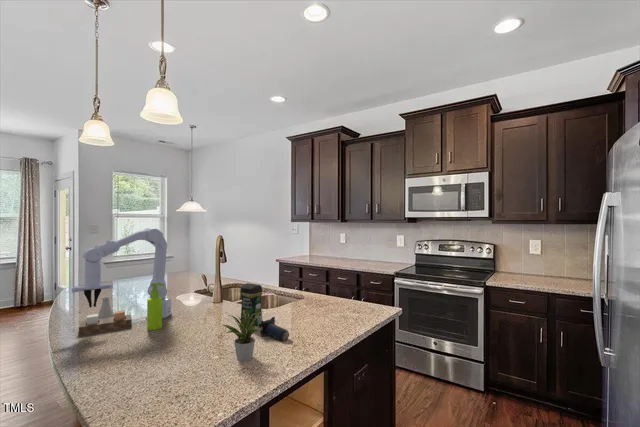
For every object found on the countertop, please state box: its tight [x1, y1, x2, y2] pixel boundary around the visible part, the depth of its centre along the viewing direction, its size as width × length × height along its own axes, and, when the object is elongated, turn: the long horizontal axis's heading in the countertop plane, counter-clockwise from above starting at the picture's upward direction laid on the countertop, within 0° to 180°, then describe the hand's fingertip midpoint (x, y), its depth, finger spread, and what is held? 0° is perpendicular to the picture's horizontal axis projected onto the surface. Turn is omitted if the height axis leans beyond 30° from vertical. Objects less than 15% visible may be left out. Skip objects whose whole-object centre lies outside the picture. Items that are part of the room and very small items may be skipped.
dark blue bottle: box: [258, 316, 290, 341], centre depth 130 cm, size 9×8×12 cm
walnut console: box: [78, 313, 133, 337], centre depth 142 cm, size 19×9×4 cm, turn 123°
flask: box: [98, 296, 115, 319], centre depth 157 cm, size 7×7×10 cm
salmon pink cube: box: [114, 309, 126, 321], centre depth 144 cm, size 4×4×4 cm
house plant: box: [221, 310, 264, 362], centre depth 112 cm, size 14×14×16 cm
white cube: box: [86, 313, 99, 325], centre depth 139 cm, size 4×4×4 cm
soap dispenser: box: [146, 283, 164, 331], centre depth 142 cm, size 6×7×20 cm
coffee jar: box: [240, 282, 263, 327], centre depth 146 cm, size 10×8×19 cm
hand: (92, 306), depth 139 cm, fingers closed
